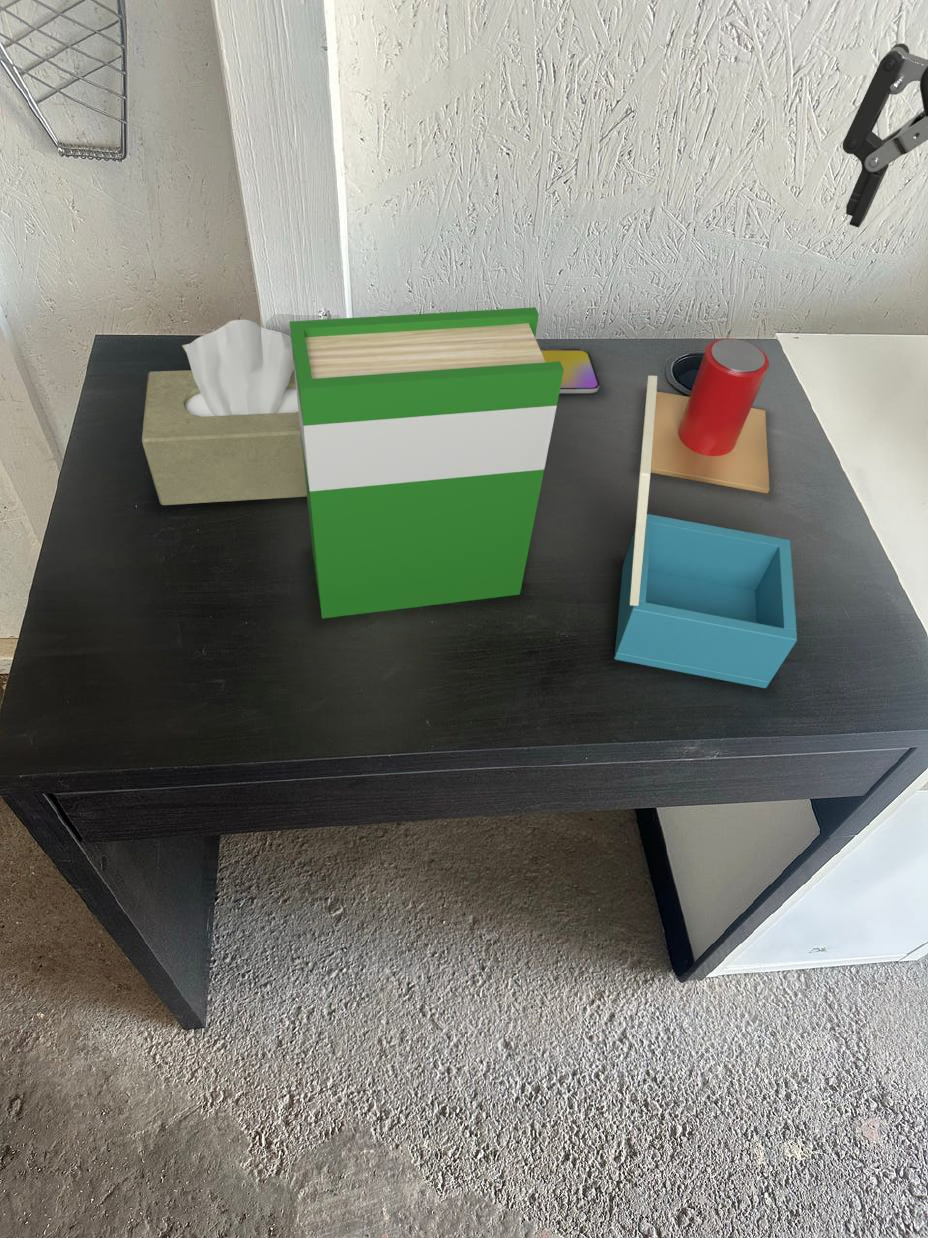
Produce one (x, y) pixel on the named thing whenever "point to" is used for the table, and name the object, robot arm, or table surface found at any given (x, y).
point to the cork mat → (731, 469)
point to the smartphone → (574, 370)
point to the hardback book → (422, 454)
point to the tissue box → (226, 420)
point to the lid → (643, 489)
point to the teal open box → (709, 602)
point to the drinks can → (722, 396)
